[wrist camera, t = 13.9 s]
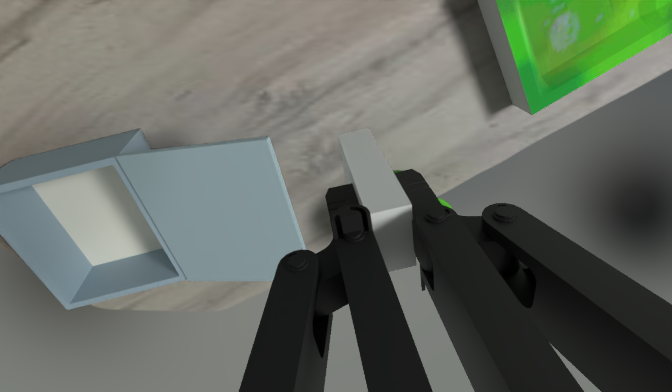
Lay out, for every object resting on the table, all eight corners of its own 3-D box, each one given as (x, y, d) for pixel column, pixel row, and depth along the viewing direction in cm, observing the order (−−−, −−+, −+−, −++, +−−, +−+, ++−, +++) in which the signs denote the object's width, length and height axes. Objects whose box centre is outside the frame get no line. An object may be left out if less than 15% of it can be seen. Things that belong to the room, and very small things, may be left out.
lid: (266, 139, 34) (269, 136, 34) (115, 156, 38) (119, 153, 39) (313, 280, 43) (314, 276, 44) (188, 281, 48) (191, 277, 48)
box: (11, 160, 45) (-36, 194, 38) (140, 128, 45) (116, 156, 39) (92, 267, 55) (67, 309, 48) (199, 240, 55) (188, 278, 48)
